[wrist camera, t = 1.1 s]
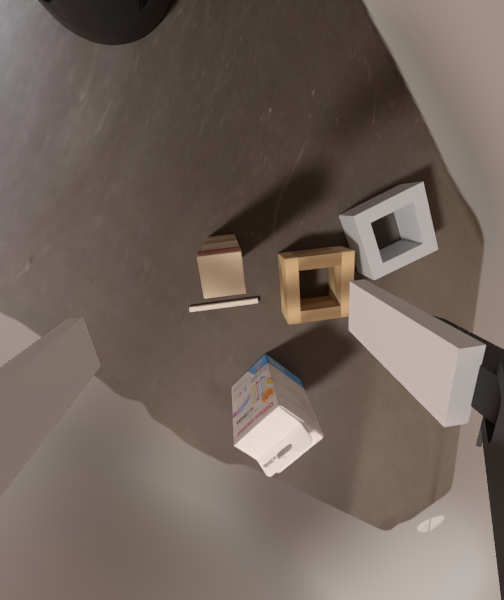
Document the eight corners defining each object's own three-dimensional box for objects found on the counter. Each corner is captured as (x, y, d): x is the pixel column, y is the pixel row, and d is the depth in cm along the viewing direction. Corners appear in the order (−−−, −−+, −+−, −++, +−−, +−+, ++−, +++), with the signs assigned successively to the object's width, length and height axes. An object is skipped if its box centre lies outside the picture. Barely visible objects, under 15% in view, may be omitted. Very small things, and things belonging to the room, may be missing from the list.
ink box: (265, 351, 42) (283, 413, 30) (301, 379, 45) (331, 447, 32) (230, 387, 44) (232, 459, 31) (266, 412, 46) (281, 488, 34)
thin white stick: (189, 306, 38) (188, 307, 38) (257, 297, 39) (257, 298, 38) (190, 310, 39) (189, 312, 38) (257, 301, 39) (258, 303, 39)
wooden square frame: (277, 253, 37) (284, 259, 33) (340, 245, 38) (354, 250, 33) (282, 312, 40) (288, 324, 36) (339, 304, 41) (352, 315, 36)
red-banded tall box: (207, 236, 35) (196, 256, 21) (234, 233, 36) (241, 250, 21) (211, 263, 37) (203, 299, 23) (238, 260, 37) (246, 293, 23)
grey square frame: (338, 215, 36) (353, 216, 32) (399, 184, 36) (423, 181, 31) (358, 272, 39) (374, 280, 35) (414, 244, 39) (438, 249, 34)
